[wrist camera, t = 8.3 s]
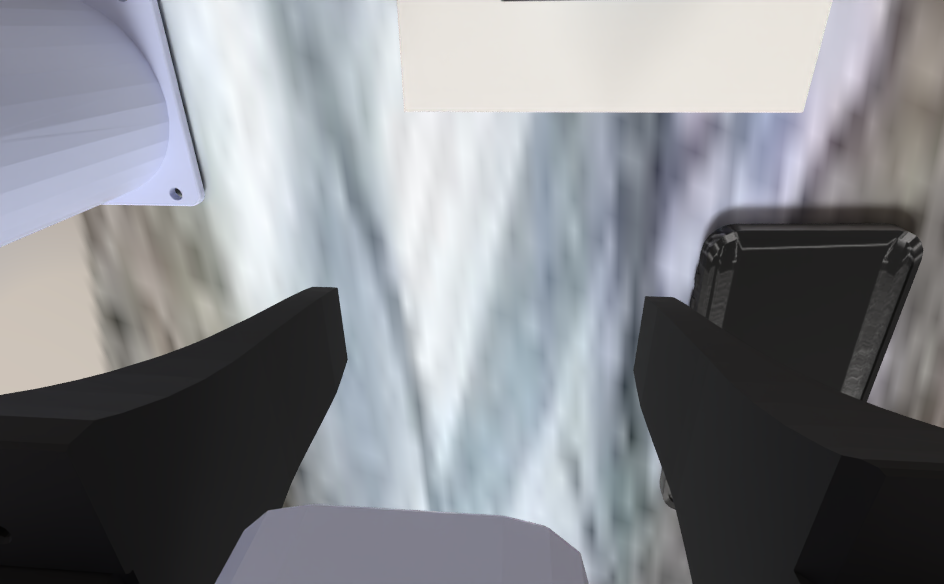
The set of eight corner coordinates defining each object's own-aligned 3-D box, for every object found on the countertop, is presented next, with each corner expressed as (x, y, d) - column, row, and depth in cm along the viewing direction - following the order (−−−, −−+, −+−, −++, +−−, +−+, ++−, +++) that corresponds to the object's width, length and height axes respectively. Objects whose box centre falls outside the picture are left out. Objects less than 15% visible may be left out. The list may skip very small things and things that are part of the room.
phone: (932, 230, 19) (822, 518, 26) (912, 220, 20) (811, 499, 27) (708, 230, 20) (658, 510, 26) (699, 220, 21) (653, 493, 27)
